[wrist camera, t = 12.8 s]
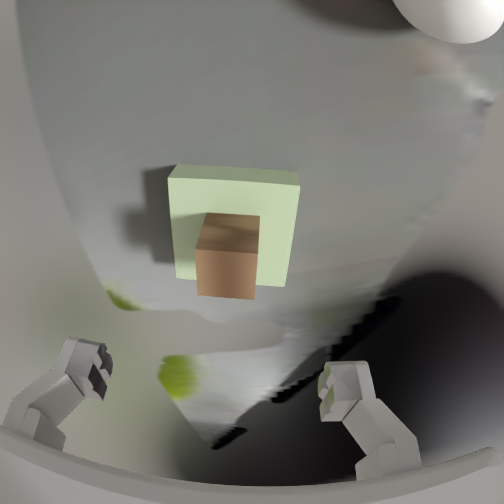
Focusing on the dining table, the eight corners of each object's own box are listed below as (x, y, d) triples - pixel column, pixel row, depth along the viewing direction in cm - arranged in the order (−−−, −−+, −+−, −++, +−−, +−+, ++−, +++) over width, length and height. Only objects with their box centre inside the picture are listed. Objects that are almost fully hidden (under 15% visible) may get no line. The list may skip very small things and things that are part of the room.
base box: (184, 256, 38) (176, 278, 35) (178, 162, 31) (167, 177, 28) (283, 264, 38) (284, 286, 35) (296, 169, 31) (300, 186, 28)
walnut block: (208, 254, 32) (197, 295, 28) (206, 212, 30) (194, 249, 25) (256, 258, 32) (254, 299, 28) (260, 215, 30) (258, 253, 25)
